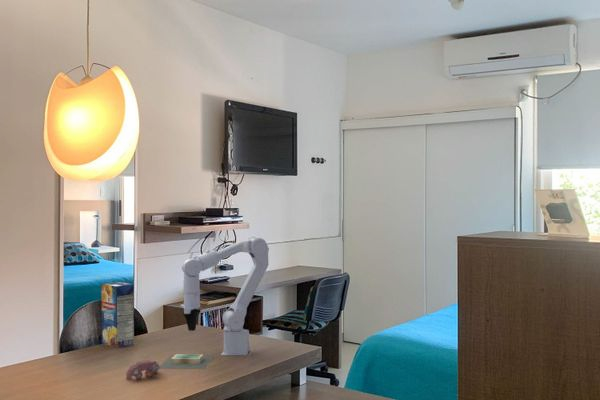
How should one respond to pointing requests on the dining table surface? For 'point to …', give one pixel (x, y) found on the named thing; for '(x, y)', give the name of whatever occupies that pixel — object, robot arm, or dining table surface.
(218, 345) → the dining table surface
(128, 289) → the juice carton
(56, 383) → the dining table surface
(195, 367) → the mat
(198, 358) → the slab
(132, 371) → the purple toy animal
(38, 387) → the dining table surface
